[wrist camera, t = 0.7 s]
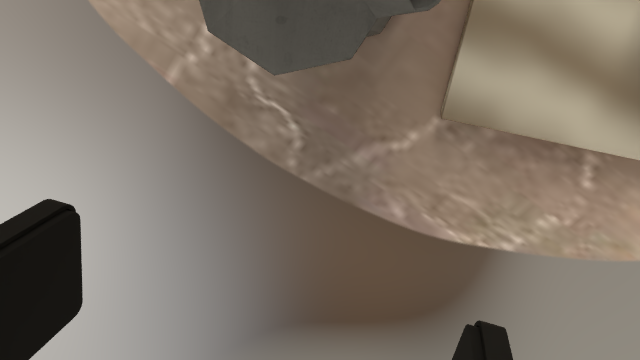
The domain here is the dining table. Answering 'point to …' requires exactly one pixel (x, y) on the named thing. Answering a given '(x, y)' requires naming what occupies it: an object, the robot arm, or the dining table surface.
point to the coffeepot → (301, 28)
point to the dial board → (551, 72)
